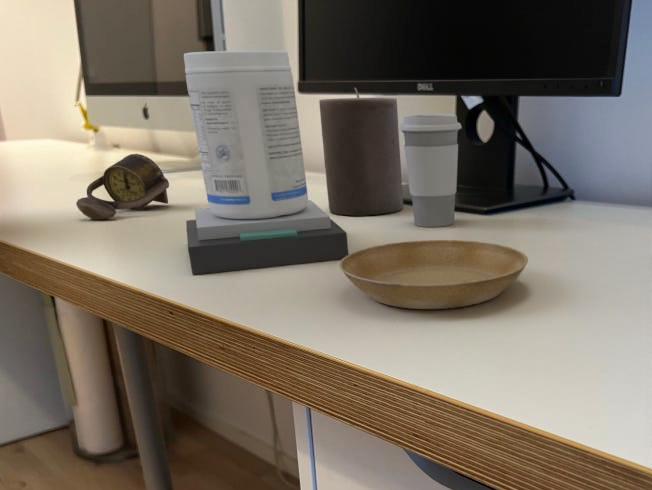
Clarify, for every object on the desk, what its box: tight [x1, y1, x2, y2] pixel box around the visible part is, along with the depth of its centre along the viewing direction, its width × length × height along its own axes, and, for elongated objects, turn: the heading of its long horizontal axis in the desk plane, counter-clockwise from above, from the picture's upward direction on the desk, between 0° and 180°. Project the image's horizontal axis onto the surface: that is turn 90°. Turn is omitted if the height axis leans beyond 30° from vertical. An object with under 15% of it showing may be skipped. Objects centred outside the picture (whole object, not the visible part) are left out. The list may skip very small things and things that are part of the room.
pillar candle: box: [318, 87, 404, 217], centre depth 89 cm, size 10×10×15 cm
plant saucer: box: [338, 239, 529, 310], centre depth 55 cm, size 15×15×3 cm
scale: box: [185, 199, 350, 276], centre depth 69 cm, size 14×14×4 cm
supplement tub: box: [183, 49, 309, 219], centre depth 67 cm, size 10×10×15 cm
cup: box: [398, 113, 463, 228], centre depth 80 cm, size 7×7×12 cm
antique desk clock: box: [75, 153, 170, 220], centre depth 92 cm, size 7×13×10 cm
